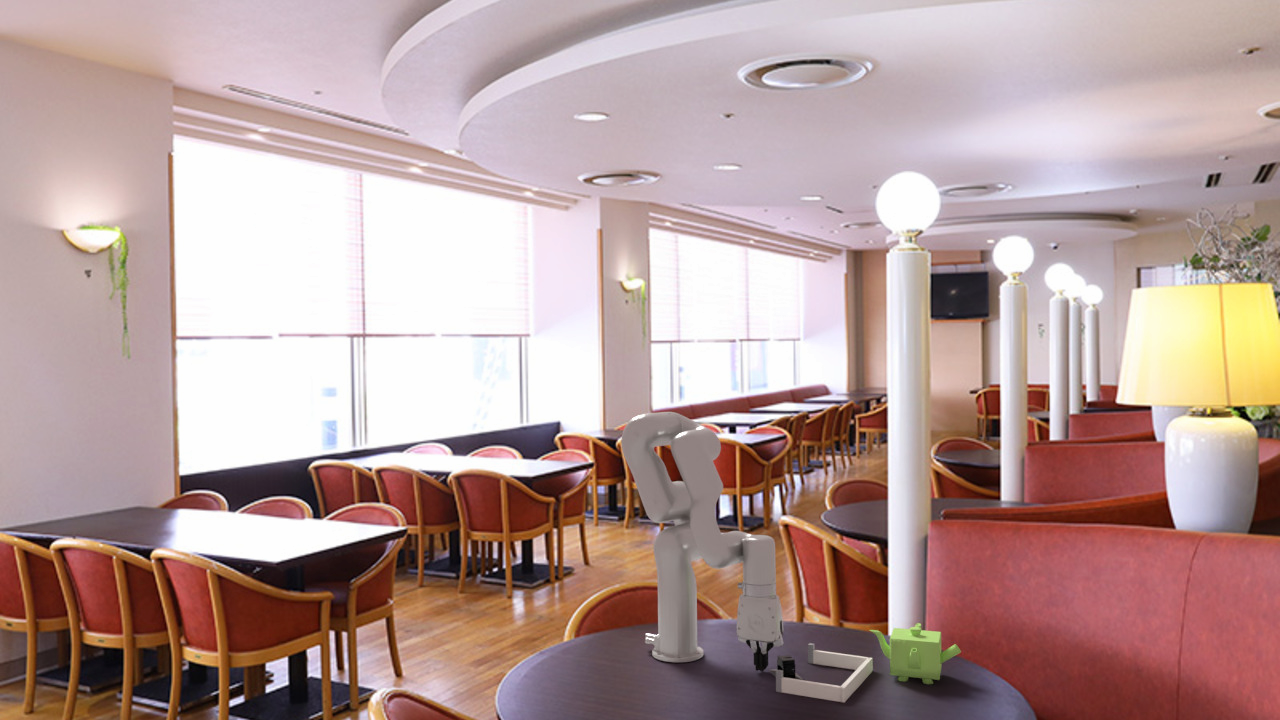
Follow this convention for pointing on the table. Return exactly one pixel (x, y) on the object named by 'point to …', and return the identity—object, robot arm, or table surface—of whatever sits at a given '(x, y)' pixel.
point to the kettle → (915, 653)
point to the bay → (826, 690)
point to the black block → (786, 667)
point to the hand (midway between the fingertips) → (761, 669)
